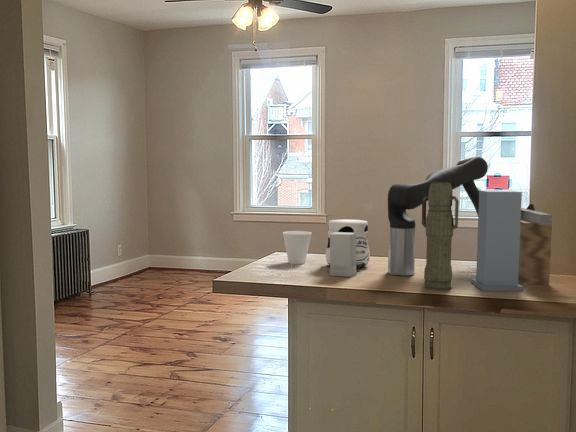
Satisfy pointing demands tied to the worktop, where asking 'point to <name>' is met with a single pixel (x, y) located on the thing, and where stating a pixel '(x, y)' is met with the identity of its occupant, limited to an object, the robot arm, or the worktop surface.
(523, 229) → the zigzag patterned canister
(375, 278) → the worktop surface
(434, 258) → the thermos
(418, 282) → the worktop surface
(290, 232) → the cup
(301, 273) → the worktop surface
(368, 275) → the worktop surface
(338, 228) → the milk container
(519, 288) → the gray pedestal
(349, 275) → the skincare box
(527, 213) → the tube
